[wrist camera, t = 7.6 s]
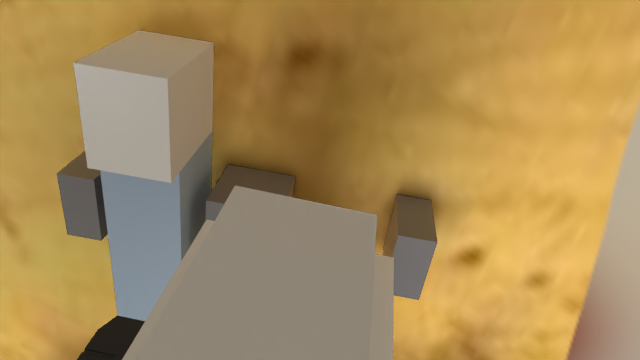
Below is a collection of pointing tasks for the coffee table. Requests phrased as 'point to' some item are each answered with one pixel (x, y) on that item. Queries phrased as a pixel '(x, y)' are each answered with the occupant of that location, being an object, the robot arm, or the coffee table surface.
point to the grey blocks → (405, 225)
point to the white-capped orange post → (273, 285)
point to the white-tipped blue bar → (149, 154)
